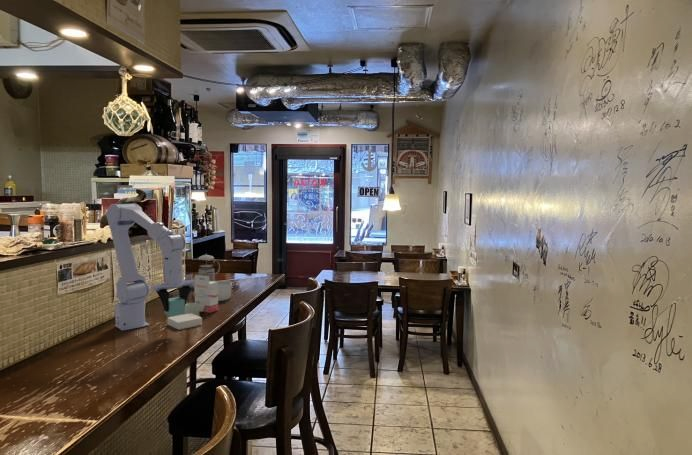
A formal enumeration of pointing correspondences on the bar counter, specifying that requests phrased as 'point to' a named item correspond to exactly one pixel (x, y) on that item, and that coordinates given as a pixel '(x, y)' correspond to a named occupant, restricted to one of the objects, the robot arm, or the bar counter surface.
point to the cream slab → (184, 321)
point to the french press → (207, 267)
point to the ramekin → (224, 290)
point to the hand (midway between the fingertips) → (174, 309)
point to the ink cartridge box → (206, 294)
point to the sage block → (192, 308)
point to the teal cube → (176, 306)
